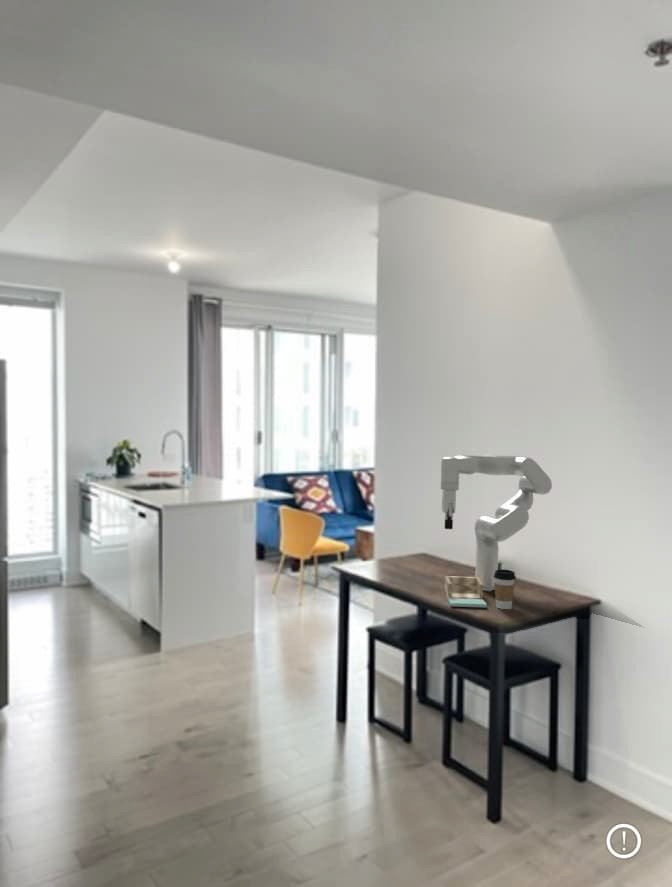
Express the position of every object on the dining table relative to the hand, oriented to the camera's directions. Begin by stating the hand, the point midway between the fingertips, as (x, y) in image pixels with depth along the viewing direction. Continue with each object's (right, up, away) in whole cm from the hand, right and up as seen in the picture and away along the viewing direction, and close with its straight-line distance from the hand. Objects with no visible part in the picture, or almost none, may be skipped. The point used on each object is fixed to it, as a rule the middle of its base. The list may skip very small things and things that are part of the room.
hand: (448, 528), depth 288 cm
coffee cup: (+18, -29, -21) cm, 40 cm away
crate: (+5, -28, -7) cm, 29 cm away
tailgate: (+5, -28, -14) cm, 32 cm away
